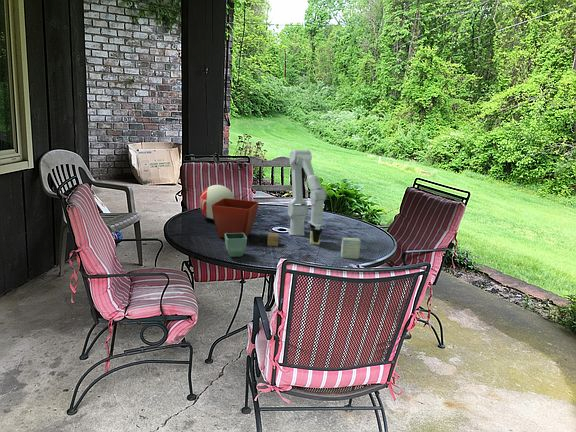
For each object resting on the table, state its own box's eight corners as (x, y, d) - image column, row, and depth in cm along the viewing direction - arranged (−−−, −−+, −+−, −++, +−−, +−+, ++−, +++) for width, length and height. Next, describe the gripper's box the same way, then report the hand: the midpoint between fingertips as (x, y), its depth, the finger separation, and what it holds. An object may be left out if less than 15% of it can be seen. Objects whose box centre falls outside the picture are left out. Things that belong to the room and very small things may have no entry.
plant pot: (247, 243, 227) (249, 209, 223) (210, 238, 230) (210, 205, 226) (257, 233, 245) (259, 201, 241) (222, 229, 248) (223, 197, 244)
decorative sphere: (201, 214, 276) (201, 181, 271) (235, 216, 277) (236, 183, 272) (196, 223, 256) (197, 187, 252) (233, 224, 258) (234, 189, 253)
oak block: (309, 241, 235) (310, 231, 234) (318, 242, 235) (319, 231, 234) (310, 244, 231) (311, 233, 230) (319, 244, 231) (320, 234, 230)
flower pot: (226, 258, 202) (227, 238, 200) (223, 252, 210) (224, 233, 208) (246, 258, 205) (247, 238, 202) (243, 251, 213) (243, 232, 211)
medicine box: (357, 256, 217) (359, 238, 215) (359, 259, 213) (360, 240, 211) (340, 255, 217) (341, 237, 215) (341, 258, 212) (343, 240, 210)
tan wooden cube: (267, 242, 229) (267, 232, 228) (277, 243, 230) (278, 233, 228) (267, 245, 224) (268, 235, 223) (277, 246, 225) (278, 236, 224)
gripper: (307, 209, 236) (305, 235, 239) (310, 216, 222) (308, 243, 225) (321, 210, 237) (319, 236, 240) (325, 217, 223) (322, 244, 226)
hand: (314, 240), depth 233 cm, fingers open, 7 cm apart
